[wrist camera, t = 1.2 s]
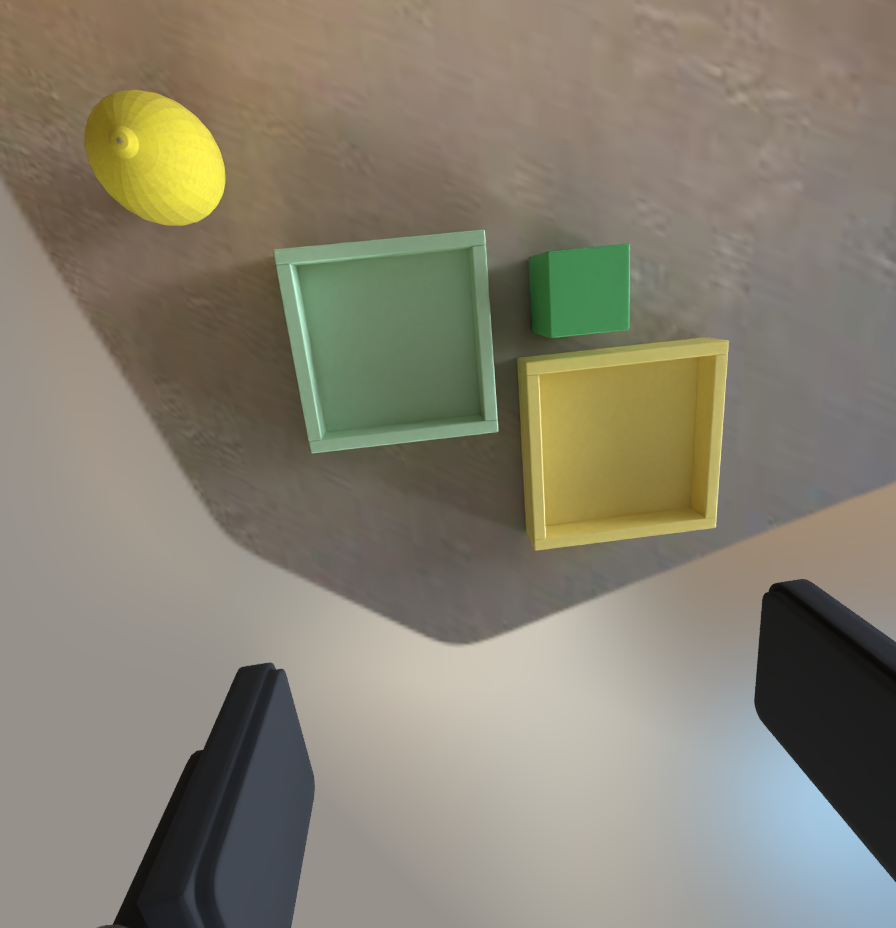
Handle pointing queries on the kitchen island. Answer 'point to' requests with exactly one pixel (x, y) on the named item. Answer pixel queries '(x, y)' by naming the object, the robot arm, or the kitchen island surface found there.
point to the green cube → (580, 291)
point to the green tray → (391, 339)
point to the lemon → (154, 157)
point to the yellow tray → (621, 440)
